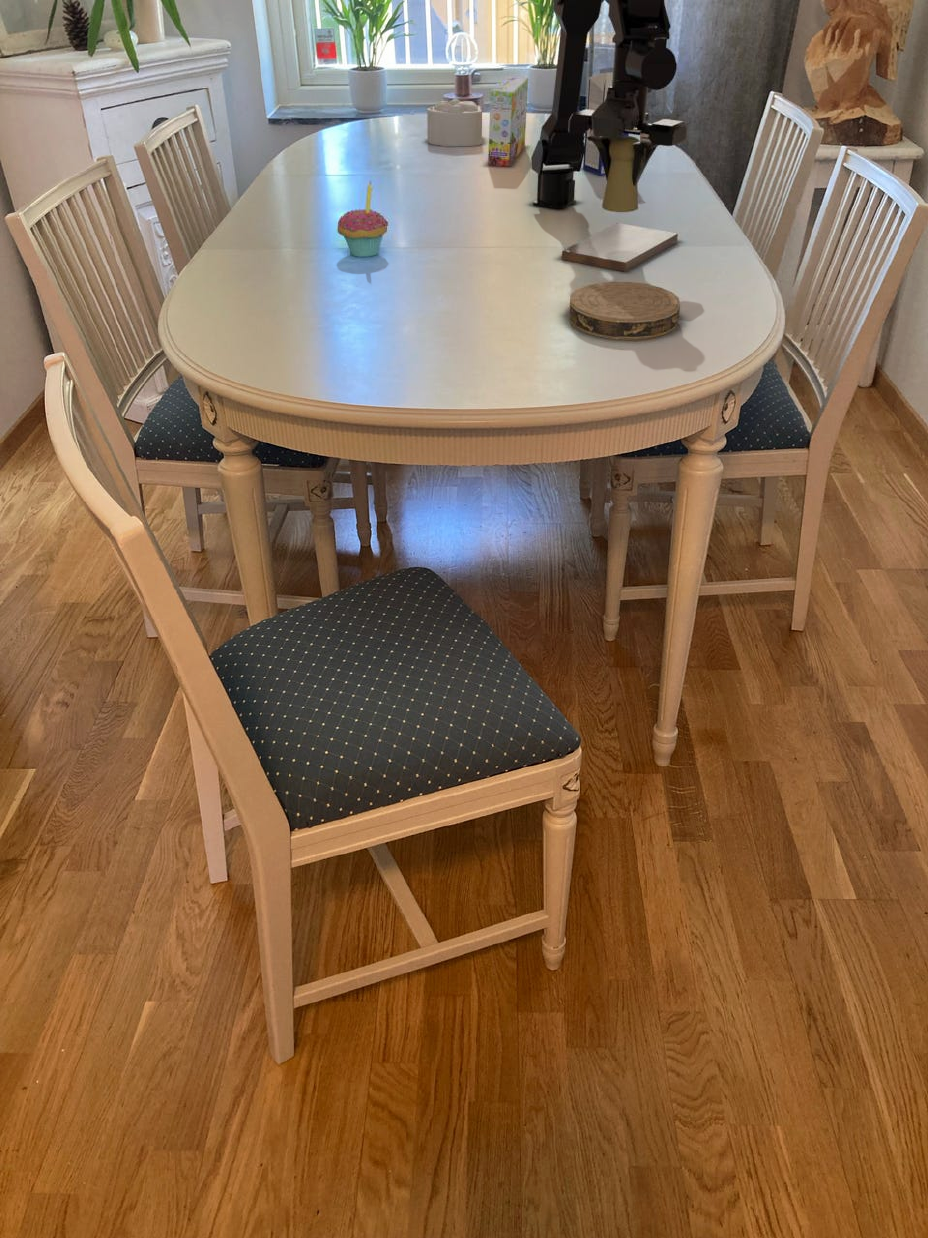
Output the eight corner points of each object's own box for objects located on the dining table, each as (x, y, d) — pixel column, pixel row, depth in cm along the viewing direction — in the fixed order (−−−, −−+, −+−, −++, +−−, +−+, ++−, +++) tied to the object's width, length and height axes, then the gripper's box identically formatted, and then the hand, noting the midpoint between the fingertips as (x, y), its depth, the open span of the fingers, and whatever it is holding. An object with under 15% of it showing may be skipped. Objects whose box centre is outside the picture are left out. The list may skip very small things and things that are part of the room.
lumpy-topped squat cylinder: (482, 145, 247) (482, 105, 242) (427, 146, 246) (427, 106, 241) (480, 136, 255) (480, 97, 250) (427, 137, 255) (426, 98, 250)
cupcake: (396, 248, 181) (393, 175, 174) (377, 262, 174) (373, 187, 167) (351, 243, 183) (346, 171, 176) (330, 257, 177) (324, 183, 170)
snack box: (512, 167, 229) (513, 91, 220) (487, 166, 230) (488, 90, 221) (526, 146, 246) (529, 75, 237) (503, 145, 247) (504, 74, 238)
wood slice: (602, 346, 144) (604, 325, 142) (549, 310, 156) (550, 290, 154) (699, 329, 149) (702, 308, 147) (641, 295, 161) (643, 276, 159)
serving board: (561, 259, 176) (561, 250, 175) (616, 231, 189) (617, 222, 188) (624, 271, 170) (625, 262, 169) (677, 242, 183) (678, 233, 183)
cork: (598, 202, 177) (604, 132, 170) (633, 201, 177) (640, 132, 171) (605, 212, 172) (611, 141, 166) (641, 211, 173) (648, 140, 166)
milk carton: (599, 175, 223) (606, 71, 211) (582, 168, 228) (588, 66, 216) (626, 171, 225) (635, 68, 214) (609, 165, 230) (616, 64, 219)
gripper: (553, 80, 162) (548, 185, 171) (662, 92, 154) (651, 202, 163) (588, 70, 170) (581, 172, 179) (693, 81, 161) (681, 187, 170)
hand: (621, 183), depth 172 cm, fingers closed on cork, 4 cm apart
